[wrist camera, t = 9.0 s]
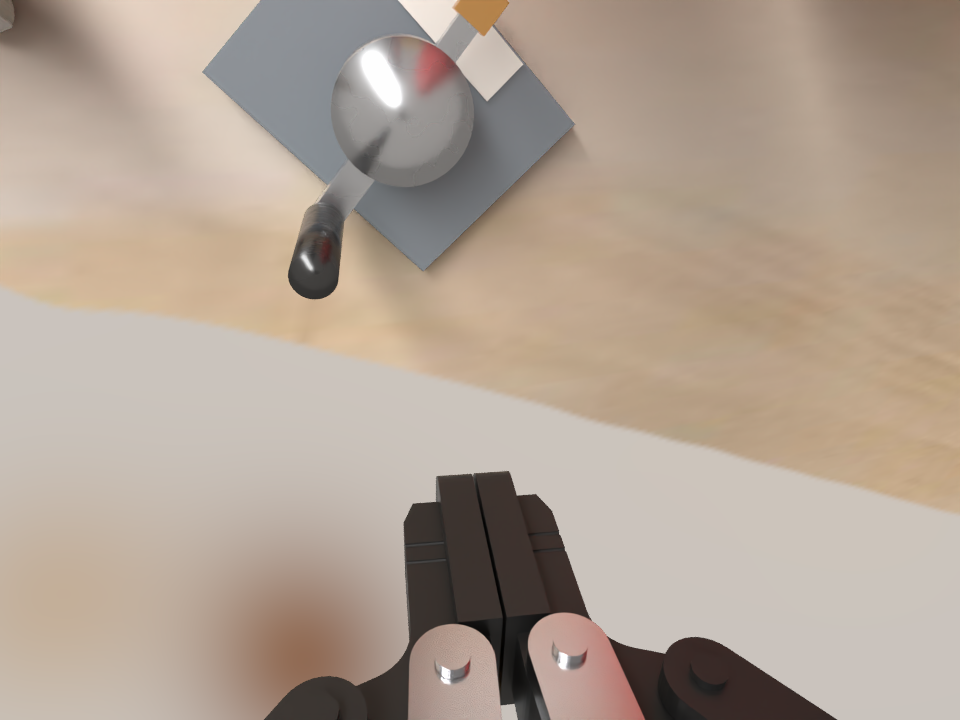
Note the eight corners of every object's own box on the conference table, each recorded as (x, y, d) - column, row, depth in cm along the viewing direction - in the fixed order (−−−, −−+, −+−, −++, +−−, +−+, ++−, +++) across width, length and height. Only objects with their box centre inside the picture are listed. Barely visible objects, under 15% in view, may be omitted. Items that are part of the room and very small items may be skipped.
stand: (367, -125, 28) (367, -139, 25) (567, 119, 34) (587, 132, 31) (209, 68, 31) (190, 78, 28) (421, 261, 37) (426, 287, 34)
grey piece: (540, 38, 29) (594, 55, 22) (366, 262, 33) (366, 336, 26) (432, -68, 26) (455, -86, 19) (258, 188, 30) (226, 248, 23)
